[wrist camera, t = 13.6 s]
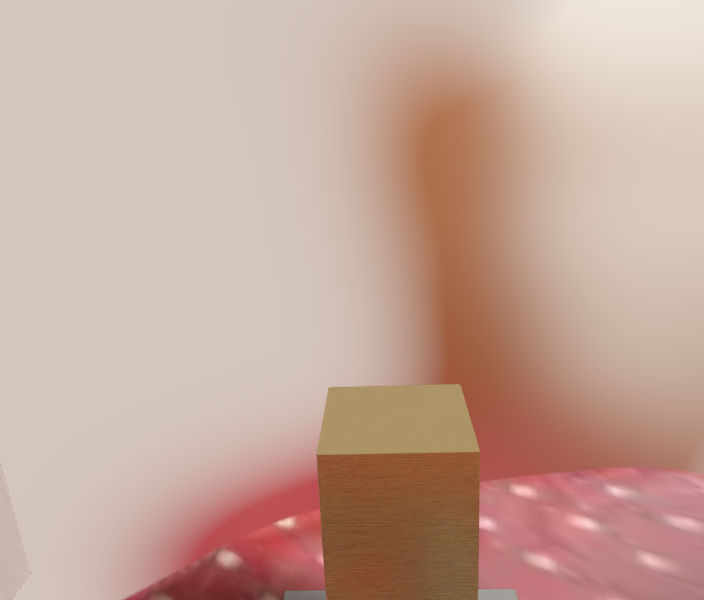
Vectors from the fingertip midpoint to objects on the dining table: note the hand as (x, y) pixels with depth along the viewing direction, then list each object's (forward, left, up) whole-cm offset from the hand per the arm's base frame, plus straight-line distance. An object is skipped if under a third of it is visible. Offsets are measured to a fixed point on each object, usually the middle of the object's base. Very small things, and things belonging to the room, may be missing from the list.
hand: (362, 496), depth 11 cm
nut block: (-8, -7, -16) cm, 19 cm away
